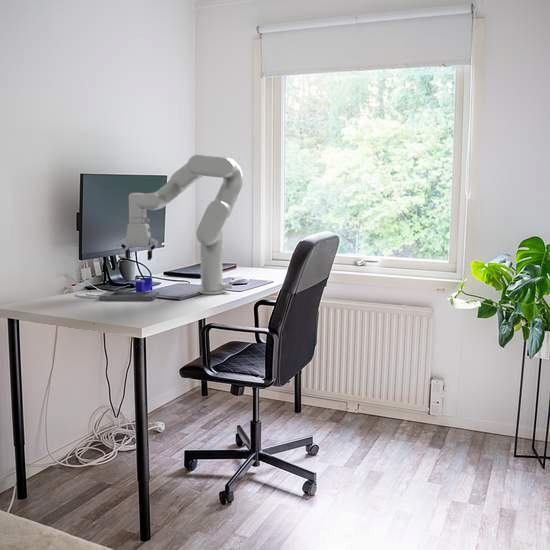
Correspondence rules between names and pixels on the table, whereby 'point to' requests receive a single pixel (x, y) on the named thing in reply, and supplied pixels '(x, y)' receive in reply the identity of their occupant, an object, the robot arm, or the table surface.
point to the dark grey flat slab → (128, 296)
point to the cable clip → (144, 285)
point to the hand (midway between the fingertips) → (138, 259)
